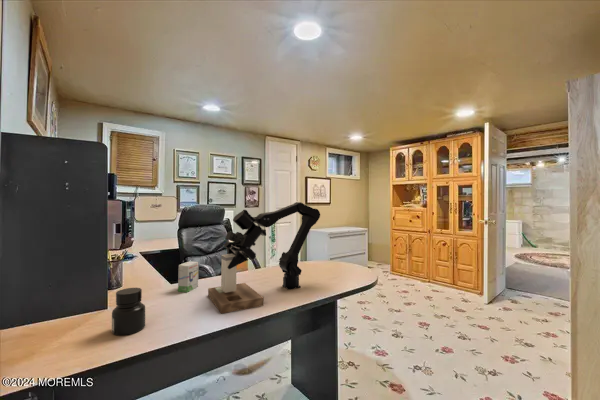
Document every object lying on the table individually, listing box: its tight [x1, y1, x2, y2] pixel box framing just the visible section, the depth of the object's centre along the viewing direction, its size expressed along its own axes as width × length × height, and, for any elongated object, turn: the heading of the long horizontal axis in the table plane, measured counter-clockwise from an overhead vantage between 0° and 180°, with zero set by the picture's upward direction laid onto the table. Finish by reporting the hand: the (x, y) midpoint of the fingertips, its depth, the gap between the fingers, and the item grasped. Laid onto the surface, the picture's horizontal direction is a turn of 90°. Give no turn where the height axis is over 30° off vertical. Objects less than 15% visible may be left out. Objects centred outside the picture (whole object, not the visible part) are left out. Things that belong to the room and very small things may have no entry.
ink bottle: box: [111, 287, 146, 336], centre depth 88 cm, size 10×9×12 cm
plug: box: [220, 253, 238, 293], centre depth 113 cm, size 5×5×14 cm
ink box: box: [177, 261, 199, 293], centre depth 127 cm, size 9×5×12 cm, turn 168°
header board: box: [207, 282, 264, 315], centre depth 113 cm, size 16×22×3 cm
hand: (225, 267), depth 112 cm, fingers closed on plug, 5 cm apart
